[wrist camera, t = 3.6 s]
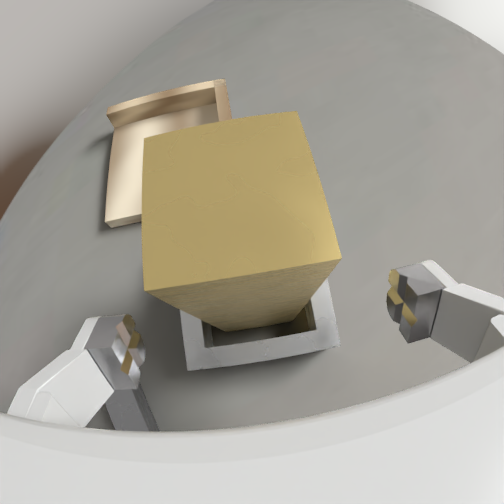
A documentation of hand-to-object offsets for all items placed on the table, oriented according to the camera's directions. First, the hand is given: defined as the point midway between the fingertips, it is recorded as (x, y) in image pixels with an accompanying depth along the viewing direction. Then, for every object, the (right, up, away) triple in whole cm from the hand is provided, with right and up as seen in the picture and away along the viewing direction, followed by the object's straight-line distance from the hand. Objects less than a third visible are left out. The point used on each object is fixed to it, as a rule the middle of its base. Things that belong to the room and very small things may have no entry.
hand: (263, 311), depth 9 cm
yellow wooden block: (0, -1, +11) cm, 12 cm away
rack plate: (-7, +10, +15) cm, 20 cm away
